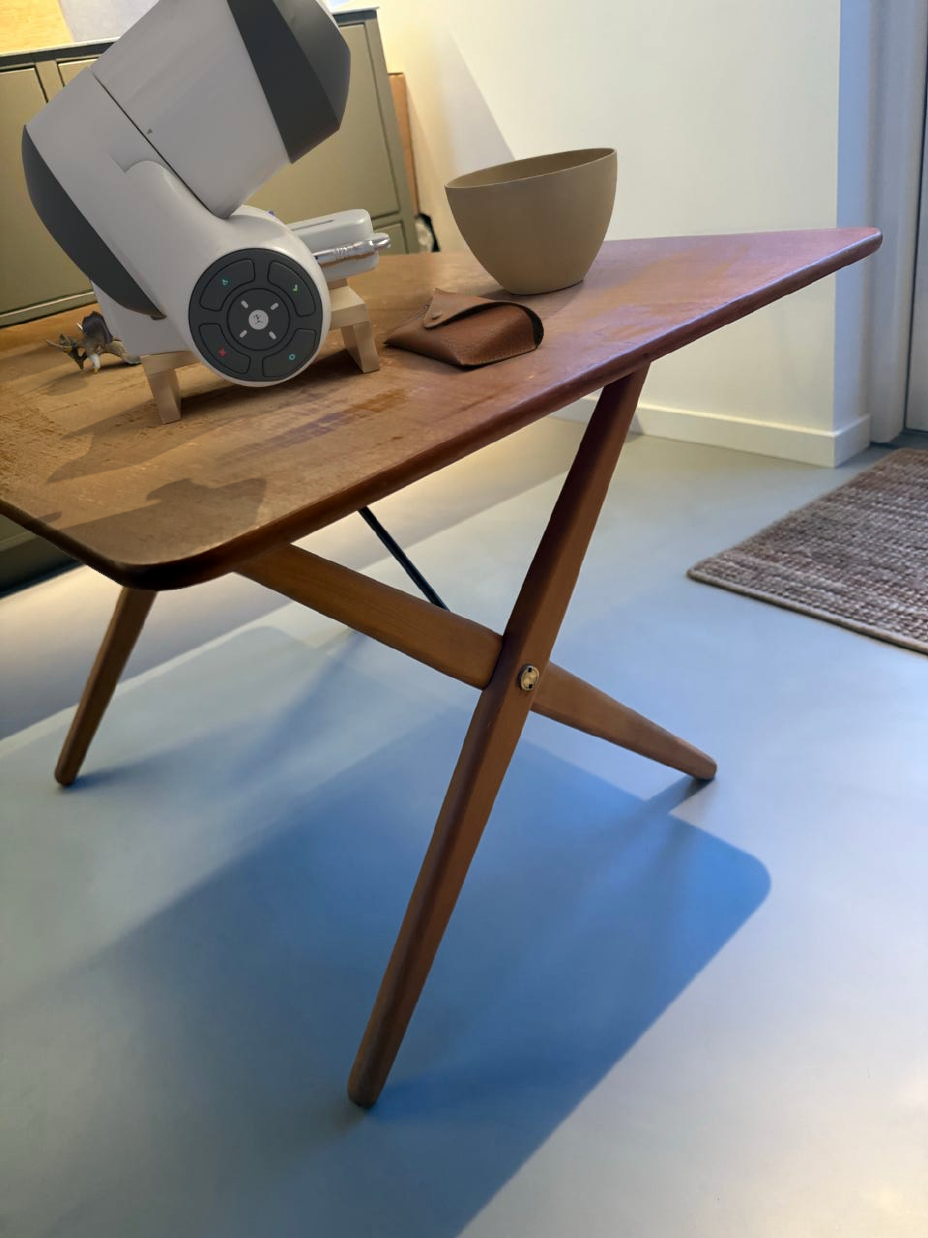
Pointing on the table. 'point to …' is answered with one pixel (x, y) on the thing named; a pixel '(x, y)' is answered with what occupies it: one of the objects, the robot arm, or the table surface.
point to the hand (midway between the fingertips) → (233, 255)
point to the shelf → (344, 315)
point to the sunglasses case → (469, 329)
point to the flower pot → (537, 216)
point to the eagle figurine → (93, 343)
